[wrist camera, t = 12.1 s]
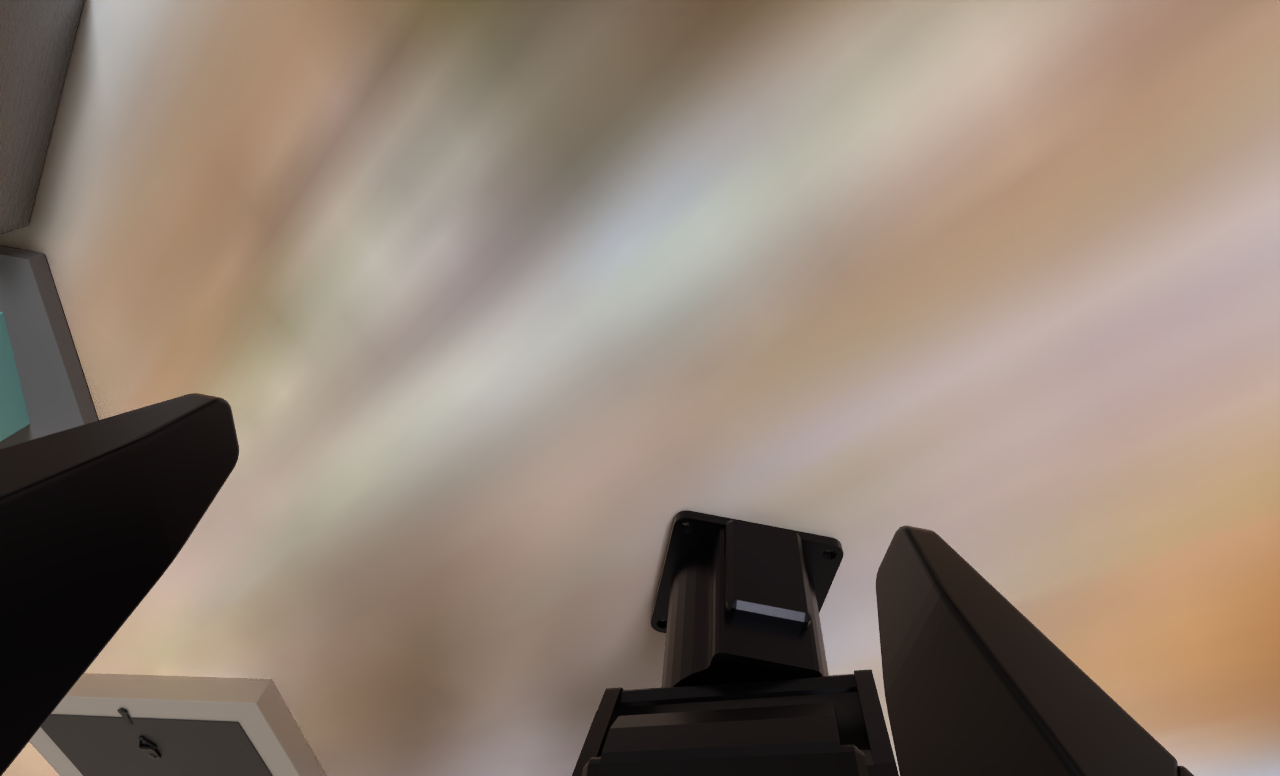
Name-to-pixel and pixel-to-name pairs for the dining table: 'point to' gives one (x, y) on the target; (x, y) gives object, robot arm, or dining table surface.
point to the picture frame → (174, 729)
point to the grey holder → (30, 95)
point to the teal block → (10, 388)
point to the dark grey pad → (41, 348)
